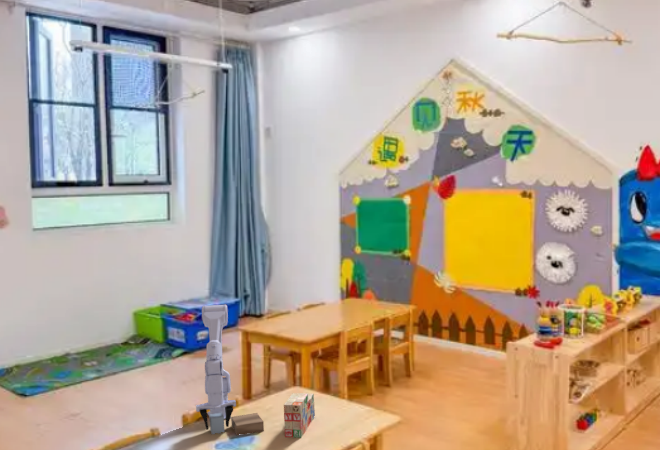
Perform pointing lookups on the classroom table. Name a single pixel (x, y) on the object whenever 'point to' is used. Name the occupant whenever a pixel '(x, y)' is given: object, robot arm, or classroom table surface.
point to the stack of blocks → (298, 414)
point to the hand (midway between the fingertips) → (217, 427)
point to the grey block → (216, 423)
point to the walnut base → (247, 423)
